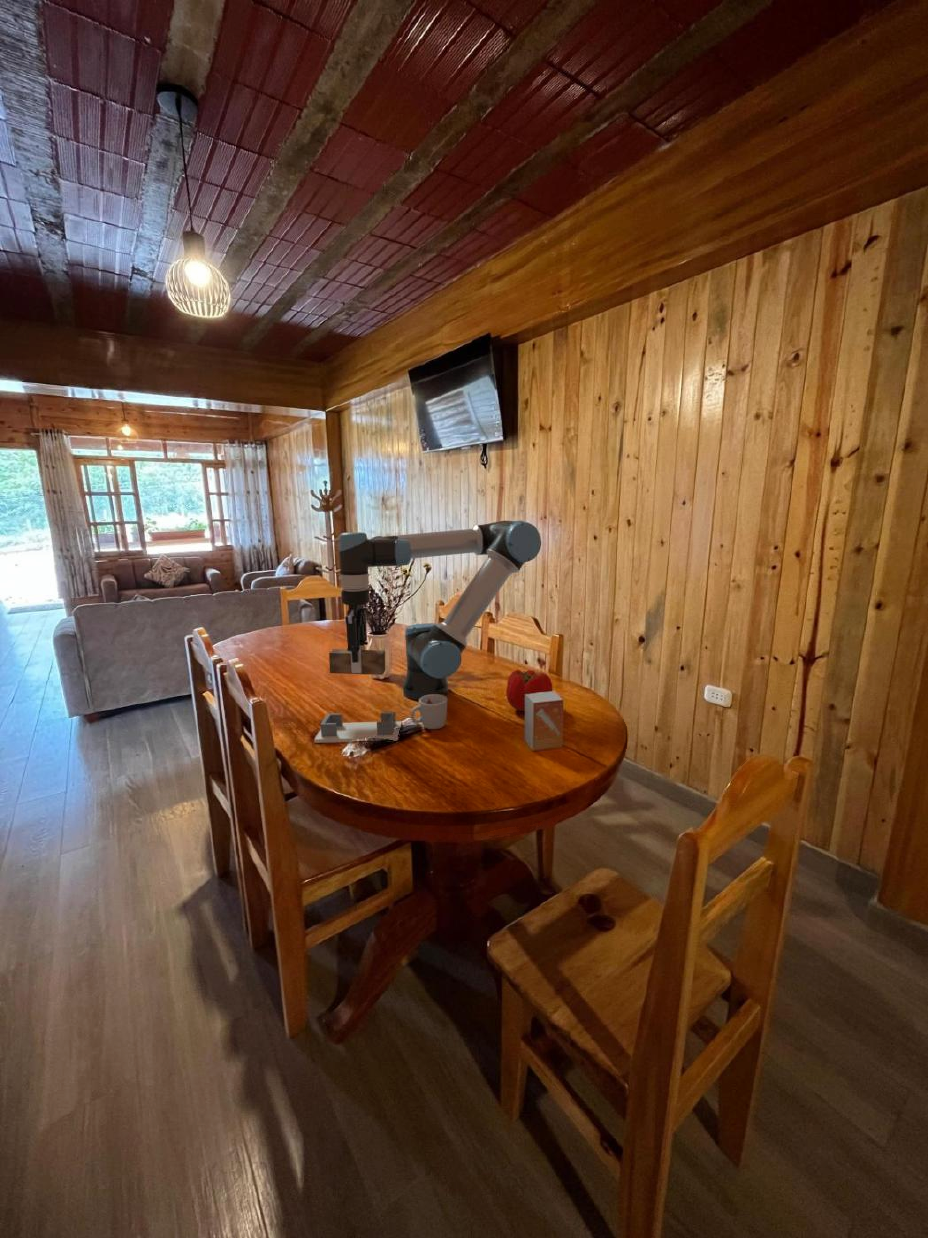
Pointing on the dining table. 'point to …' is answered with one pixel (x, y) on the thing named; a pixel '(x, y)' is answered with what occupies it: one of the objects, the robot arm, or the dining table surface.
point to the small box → (543, 720)
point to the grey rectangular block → (369, 661)
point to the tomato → (525, 686)
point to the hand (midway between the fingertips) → (358, 669)
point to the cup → (431, 711)
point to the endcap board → (357, 729)
